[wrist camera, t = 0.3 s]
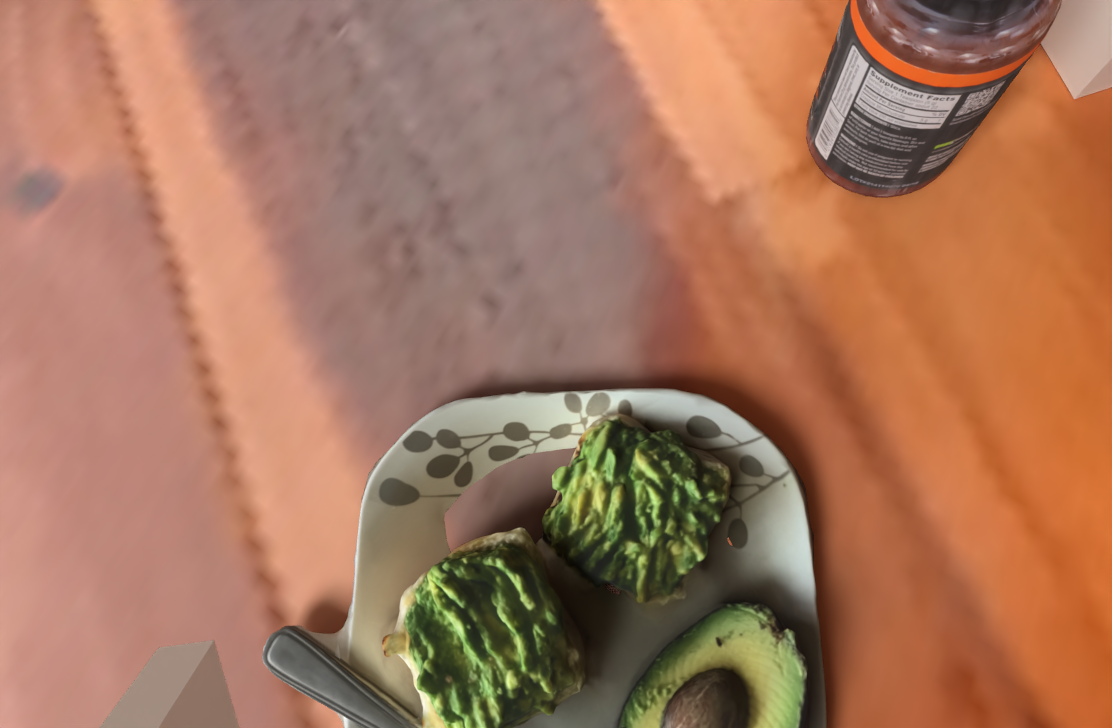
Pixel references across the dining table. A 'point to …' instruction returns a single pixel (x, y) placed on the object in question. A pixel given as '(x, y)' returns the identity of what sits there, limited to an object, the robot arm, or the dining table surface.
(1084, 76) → the white flat block
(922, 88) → the supplement bottle
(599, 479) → the salad plate
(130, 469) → the dining table surface
